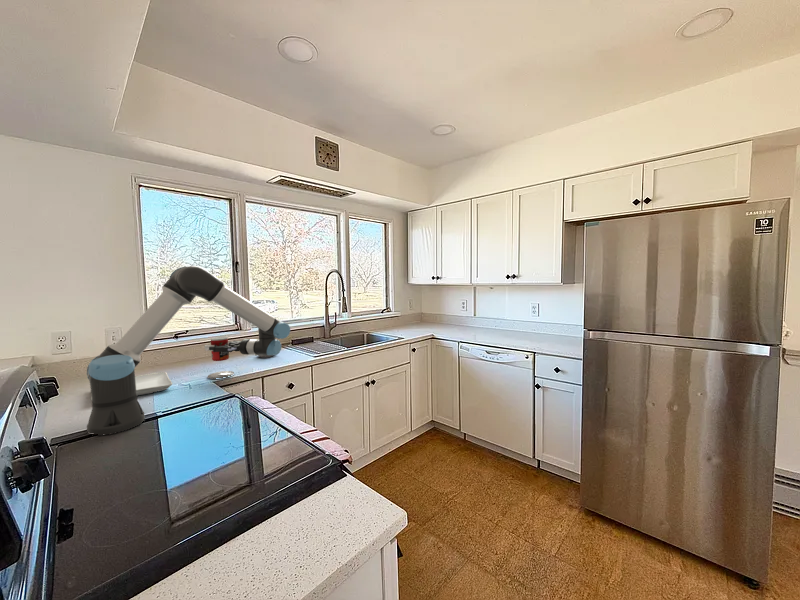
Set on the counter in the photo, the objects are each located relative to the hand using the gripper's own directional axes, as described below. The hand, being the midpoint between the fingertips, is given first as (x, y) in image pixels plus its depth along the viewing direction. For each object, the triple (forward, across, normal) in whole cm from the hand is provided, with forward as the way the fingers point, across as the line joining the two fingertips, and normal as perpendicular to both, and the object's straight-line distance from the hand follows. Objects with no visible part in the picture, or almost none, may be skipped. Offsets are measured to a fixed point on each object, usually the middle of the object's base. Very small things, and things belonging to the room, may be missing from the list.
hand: (211, 345), depth 173 cm
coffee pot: (-6, +39, -16) cm, 42 cm away
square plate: (+19, -26, -16) cm, 36 cm away
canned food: (-5, 0, -7) cm, 9 cm away
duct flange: (-5, 0, -15) cm, 16 cm away
